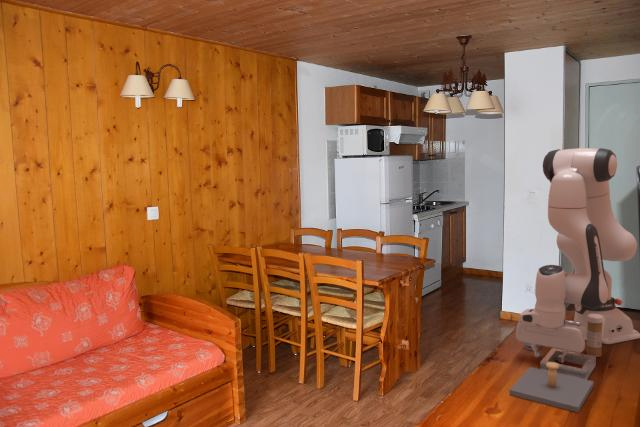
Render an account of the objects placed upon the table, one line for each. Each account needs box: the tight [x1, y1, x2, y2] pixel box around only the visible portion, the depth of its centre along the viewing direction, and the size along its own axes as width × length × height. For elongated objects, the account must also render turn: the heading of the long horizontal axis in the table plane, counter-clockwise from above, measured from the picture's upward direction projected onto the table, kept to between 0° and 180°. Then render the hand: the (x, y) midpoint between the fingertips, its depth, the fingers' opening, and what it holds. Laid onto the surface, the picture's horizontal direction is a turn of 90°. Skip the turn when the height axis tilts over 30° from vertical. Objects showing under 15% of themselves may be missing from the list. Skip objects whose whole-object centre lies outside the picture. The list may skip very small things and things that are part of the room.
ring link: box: [539, 347, 597, 380], centre depth 167 cm, size 13×13×3 cm
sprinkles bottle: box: [586, 314, 603, 358], centre depth 175 cm, size 5×5×13 cm
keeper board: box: [509, 361, 595, 413], centre depth 153 cm, size 18×18×8 cm
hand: (549, 359), depth 170 cm, fingers open, 6 cm apart
